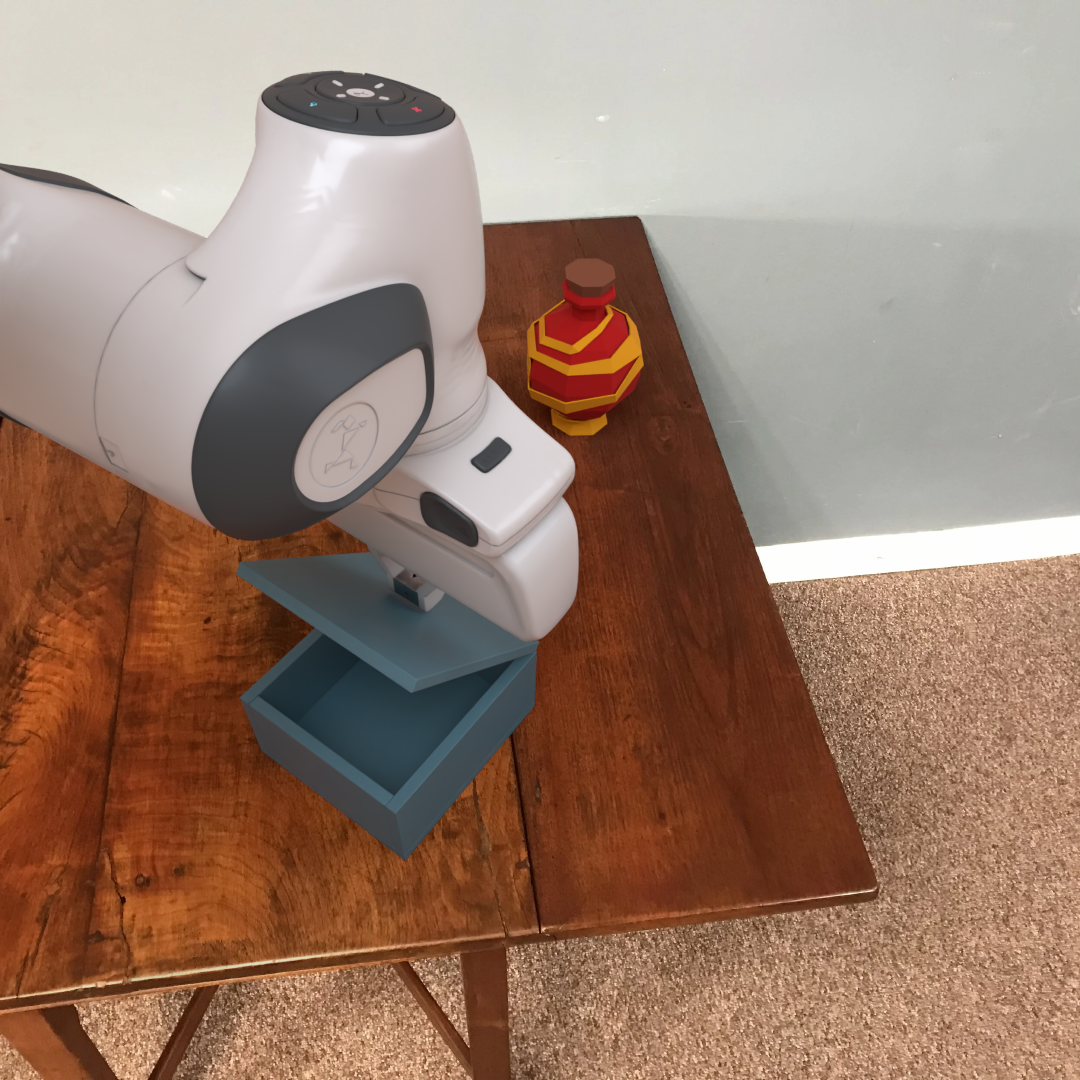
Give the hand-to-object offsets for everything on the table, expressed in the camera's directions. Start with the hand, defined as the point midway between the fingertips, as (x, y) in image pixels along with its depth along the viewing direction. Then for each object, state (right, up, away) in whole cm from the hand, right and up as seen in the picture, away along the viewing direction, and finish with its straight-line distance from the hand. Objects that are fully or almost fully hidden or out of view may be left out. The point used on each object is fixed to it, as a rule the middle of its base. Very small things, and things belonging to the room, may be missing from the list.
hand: (417, 593), depth 56 cm
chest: (-2, -10, +7) cm, 12 cm away
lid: (-1, -1, -1) cm, 2 cm away
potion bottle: (+11, +14, +29) cm, 34 cm away
